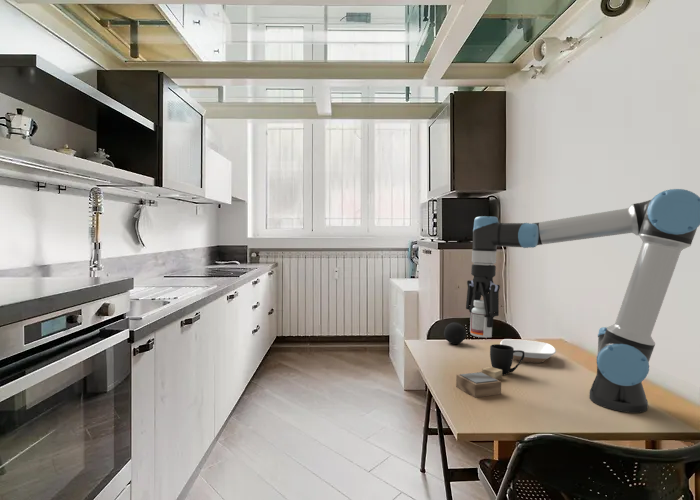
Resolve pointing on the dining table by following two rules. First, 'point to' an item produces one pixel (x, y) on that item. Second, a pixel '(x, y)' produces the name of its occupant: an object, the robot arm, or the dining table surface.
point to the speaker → (454, 333)
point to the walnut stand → (478, 384)
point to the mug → (503, 357)
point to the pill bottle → (478, 318)
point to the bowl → (530, 350)
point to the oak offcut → (493, 372)
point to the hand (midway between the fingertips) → (480, 334)
